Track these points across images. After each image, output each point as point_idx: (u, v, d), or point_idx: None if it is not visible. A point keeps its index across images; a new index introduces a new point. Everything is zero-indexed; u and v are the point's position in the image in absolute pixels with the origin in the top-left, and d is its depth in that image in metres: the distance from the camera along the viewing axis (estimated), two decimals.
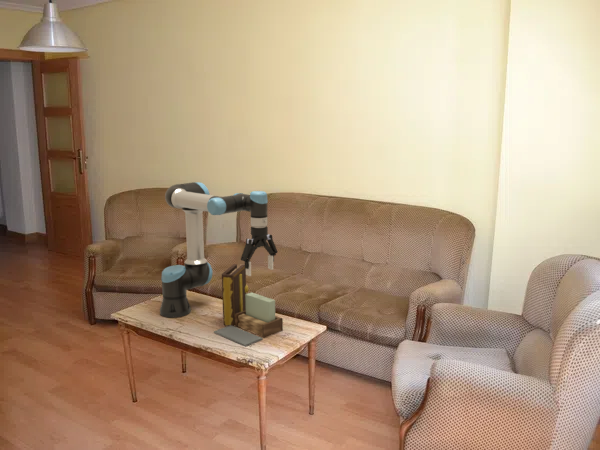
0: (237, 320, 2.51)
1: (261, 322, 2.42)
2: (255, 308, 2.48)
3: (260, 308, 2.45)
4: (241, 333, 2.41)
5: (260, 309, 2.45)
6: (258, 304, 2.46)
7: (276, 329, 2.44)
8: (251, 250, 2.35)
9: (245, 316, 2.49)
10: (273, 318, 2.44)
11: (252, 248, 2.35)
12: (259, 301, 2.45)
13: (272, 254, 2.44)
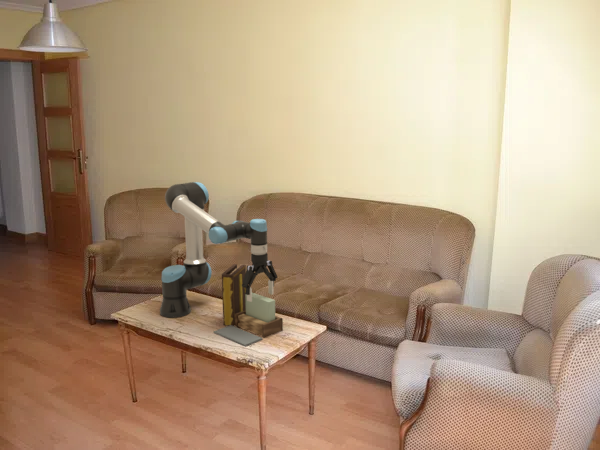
0: (237, 320, 2.51)
1: (261, 322, 2.42)
2: (255, 308, 2.48)
3: (260, 308, 2.45)
4: (241, 333, 2.41)
5: (260, 308, 2.45)
6: (258, 304, 2.46)
7: (276, 329, 2.44)
8: (252, 276, 2.41)
9: (245, 316, 2.49)
10: (273, 318, 2.44)
11: (253, 274, 2.41)
12: (259, 301, 2.45)
13: (272, 279, 2.50)
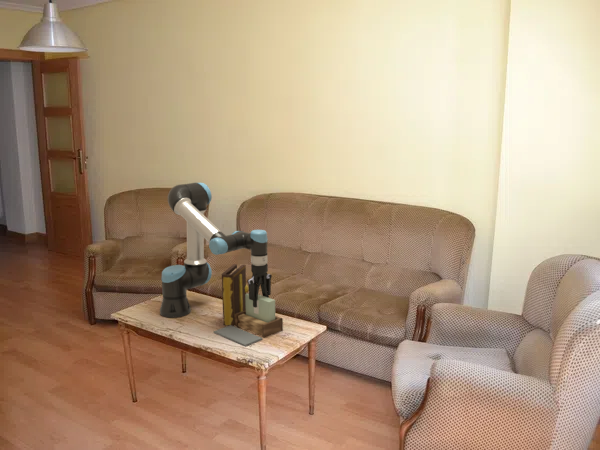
0: (237, 320, 2.51)
1: (261, 322, 2.42)
2: None
3: (260, 308, 2.45)
4: (241, 333, 2.41)
5: (260, 308, 2.45)
6: None
7: (276, 329, 2.44)
8: (255, 289, 2.44)
9: (245, 316, 2.49)
10: (273, 318, 2.44)
11: (256, 287, 2.44)
12: (259, 301, 2.45)
13: (265, 295, 2.48)
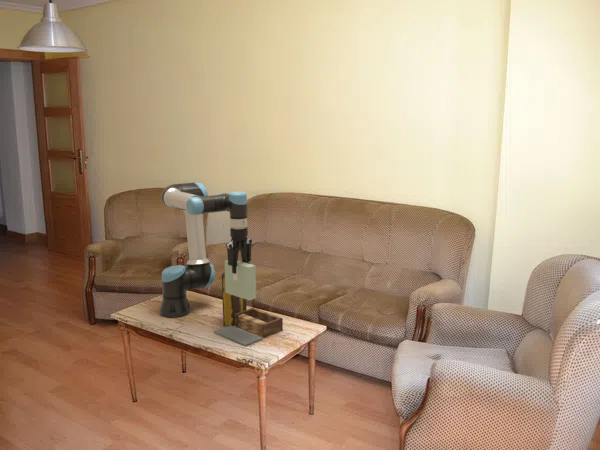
0: (237, 320, 2.51)
1: (261, 322, 2.42)
2: None
3: (240, 274, 2.33)
4: (241, 333, 2.41)
5: (240, 275, 2.33)
6: (238, 270, 2.33)
7: (276, 329, 2.44)
8: (235, 254, 2.32)
9: (245, 316, 2.49)
10: (253, 284, 2.32)
11: (235, 252, 2.32)
12: (239, 267, 2.33)
13: (245, 261, 2.36)
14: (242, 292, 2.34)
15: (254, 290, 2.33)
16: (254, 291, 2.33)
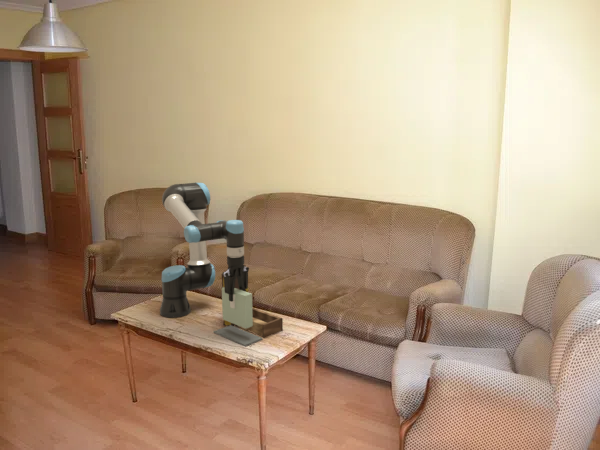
0: None
1: (261, 322, 2.42)
2: None
3: (236, 302, 2.34)
4: (241, 333, 2.41)
5: (237, 303, 2.34)
6: (235, 298, 2.34)
7: (276, 329, 2.44)
8: (231, 282, 2.33)
9: None
10: (250, 312, 2.33)
11: (231, 280, 2.33)
12: (235, 295, 2.34)
13: (242, 289, 2.37)
14: (238, 320, 2.35)
15: (251, 318, 2.34)
16: (251, 319, 2.34)
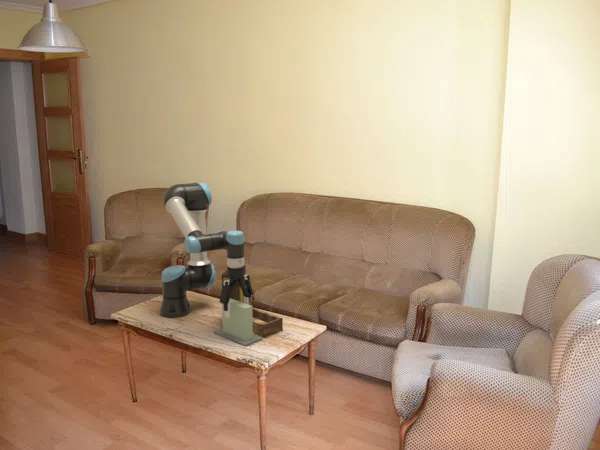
0: None
1: (261, 322, 2.42)
2: (231, 314, 2.38)
3: (236, 314, 2.35)
4: None
5: (237, 315, 2.35)
6: (235, 310, 2.35)
7: (276, 329, 2.44)
8: (229, 292, 2.32)
9: None
10: (250, 325, 2.34)
11: (229, 289, 2.33)
12: (235, 307, 2.35)
13: (247, 296, 2.40)
14: (239, 332, 2.36)
15: (251, 330, 2.35)
16: (251, 331, 2.35)
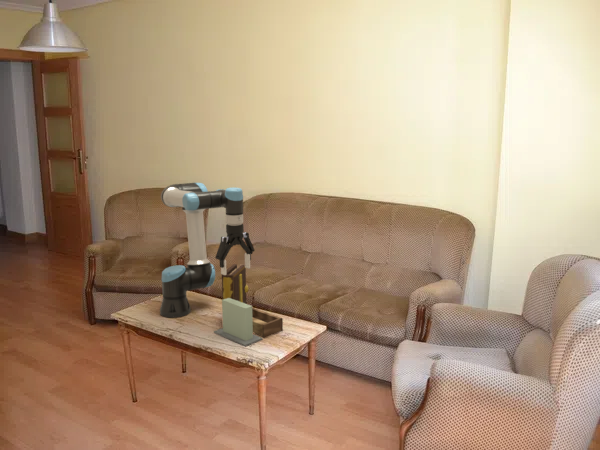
0: None
1: (261, 322, 2.42)
2: (231, 314, 2.38)
3: (236, 314, 2.35)
4: None
5: (237, 315, 2.35)
6: (235, 310, 2.35)
7: (276, 329, 2.44)
8: (226, 248, 2.28)
9: None
10: (250, 325, 2.34)
11: (227, 246, 2.28)
12: (235, 307, 2.35)
13: (249, 252, 2.37)
14: (239, 332, 2.36)
15: (251, 330, 2.35)
16: (251, 331, 2.35)
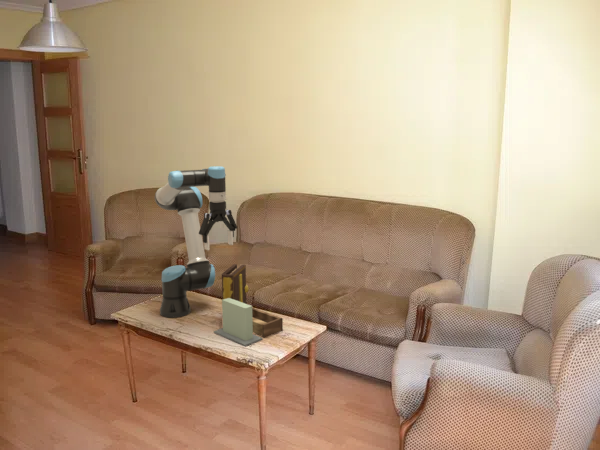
0: None
1: (261, 322, 2.42)
2: (231, 314, 2.38)
3: (236, 314, 2.35)
4: None
5: (237, 315, 2.35)
6: (235, 310, 2.35)
7: (276, 329, 2.44)
8: (209, 224, 2.37)
9: None
10: (250, 325, 2.34)
11: (210, 222, 2.38)
12: (235, 307, 2.35)
13: (232, 229, 2.46)
14: (239, 332, 2.36)
15: (251, 330, 2.35)
16: (251, 331, 2.35)
